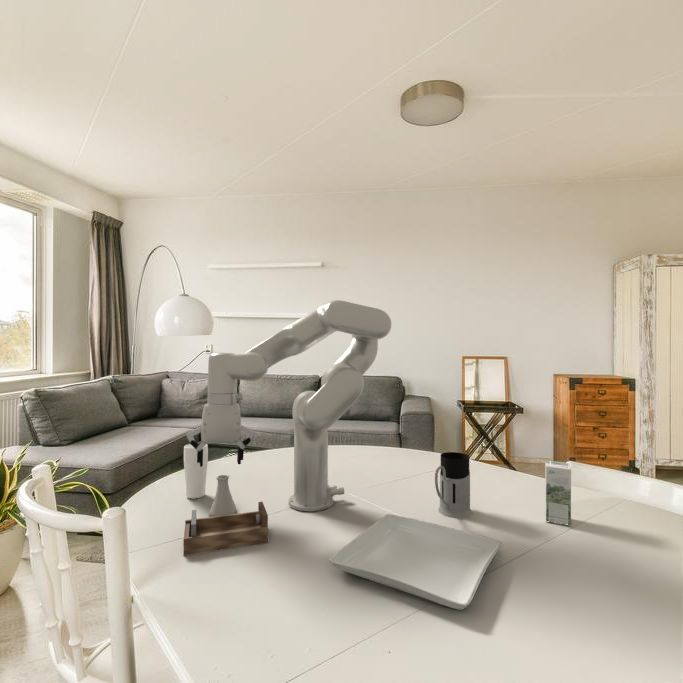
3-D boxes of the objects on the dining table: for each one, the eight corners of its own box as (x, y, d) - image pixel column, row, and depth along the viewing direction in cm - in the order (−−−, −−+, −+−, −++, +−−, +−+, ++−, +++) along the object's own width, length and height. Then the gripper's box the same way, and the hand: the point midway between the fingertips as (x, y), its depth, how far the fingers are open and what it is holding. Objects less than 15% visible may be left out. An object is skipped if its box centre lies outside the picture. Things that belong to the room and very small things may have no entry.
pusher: (196, 529, 100) (196, 509, 100) (195, 545, 92) (195, 524, 92) (191, 530, 100) (191, 510, 100) (191, 546, 92) (191, 524, 92)
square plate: (468, 628, 68) (468, 604, 68) (326, 577, 82) (326, 557, 82) (503, 556, 91) (503, 537, 91) (387, 526, 105) (387, 510, 105)
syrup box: (569, 518, 109) (569, 462, 110) (571, 527, 104) (571, 468, 104) (545, 514, 112) (545, 459, 112) (545, 523, 107) (545, 465, 107)
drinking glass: (178, 498, 123) (178, 447, 123) (194, 491, 130) (194, 441, 130) (197, 501, 121) (197, 449, 121) (212, 494, 127) (212, 443, 127)
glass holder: (477, 511, 114) (477, 455, 114) (451, 527, 104) (451, 466, 104) (448, 502, 120) (448, 449, 120) (421, 517, 110) (420, 460, 110)
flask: (229, 521, 108) (229, 481, 108) (203, 518, 109) (203, 479, 109) (241, 510, 115) (241, 473, 115) (217, 508, 116) (217, 471, 116)
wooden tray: (262, 524, 106) (262, 500, 106) (268, 543, 96) (268, 516, 96) (185, 534, 100) (185, 509, 100) (183, 555, 90) (183, 527, 90)
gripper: (253, 397, 118) (251, 458, 118) (187, 398, 113) (186, 462, 113) (256, 400, 111) (255, 466, 111) (187, 401, 106) (184, 470, 106)
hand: (220, 464), depth 112 cm, fingers open, 9 cm apart
